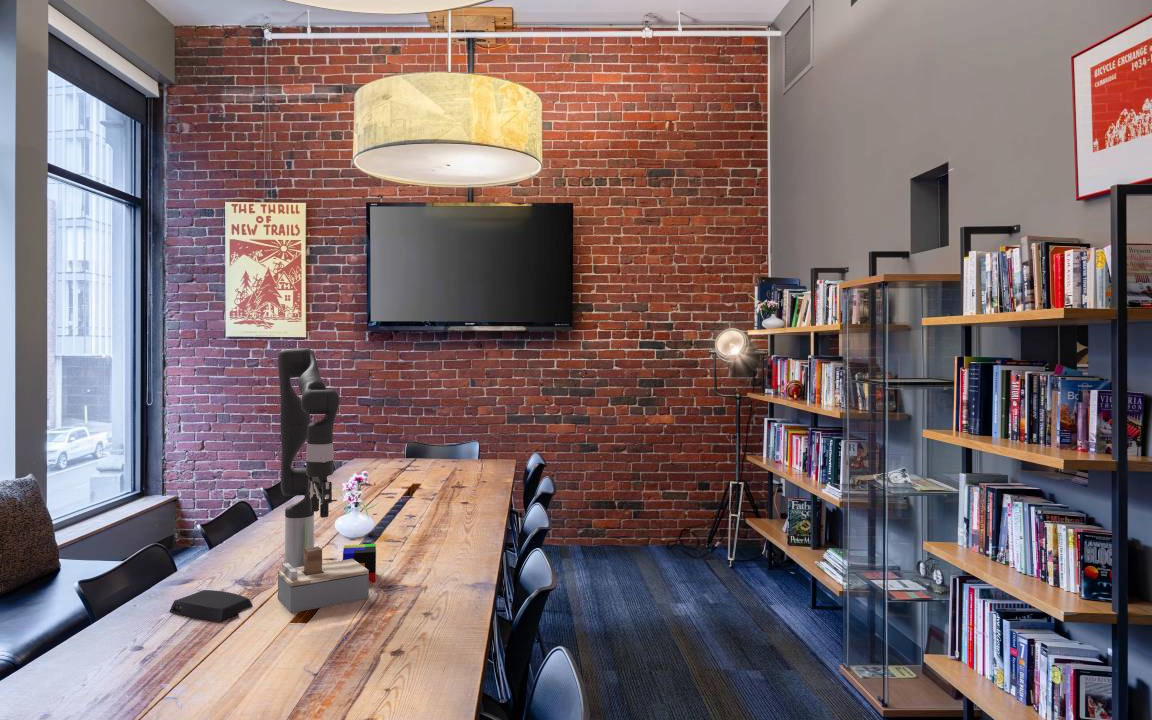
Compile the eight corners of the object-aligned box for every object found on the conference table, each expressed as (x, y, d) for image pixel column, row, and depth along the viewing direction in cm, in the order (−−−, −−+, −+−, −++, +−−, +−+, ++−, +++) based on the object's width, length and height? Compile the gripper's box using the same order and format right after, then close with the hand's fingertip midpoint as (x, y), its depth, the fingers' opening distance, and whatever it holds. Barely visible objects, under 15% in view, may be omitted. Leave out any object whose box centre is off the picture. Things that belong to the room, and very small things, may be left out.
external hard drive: (206, 600, 219) (206, 586, 219) (256, 609, 212) (256, 595, 212) (166, 615, 207) (166, 600, 207) (218, 625, 200) (218, 610, 200)
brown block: (303, 599, 216) (304, 548, 216) (317, 597, 219) (318, 546, 218) (307, 603, 213) (308, 551, 213) (321, 601, 215) (322, 549, 215)
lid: (277, 573, 217) (277, 562, 217) (352, 561, 230) (352, 550, 230) (290, 586, 205) (290, 574, 205) (368, 573, 218) (368, 561, 218)
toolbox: (277, 602, 217) (277, 574, 217) (352, 588, 230) (352, 562, 230) (290, 616, 206) (290, 587, 205) (368, 601, 218) (368, 574, 218)
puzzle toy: (342, 585, 233) (342, 553, 233) (343, 576, 243) (343, 545, 242) (375, 583, 236) (375, 551, 235) (375, 573, 245) (375, 543, 245)
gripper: (299, 456, 219) (298, 511, 220) (314, 463, 208) (314, 521, 208) (324, 454, 224) (324, 508, 224) (341, 461, 212) (340, 517, 213)
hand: (319, 514), depth 216 cm, fingers open, 8 cm apart
